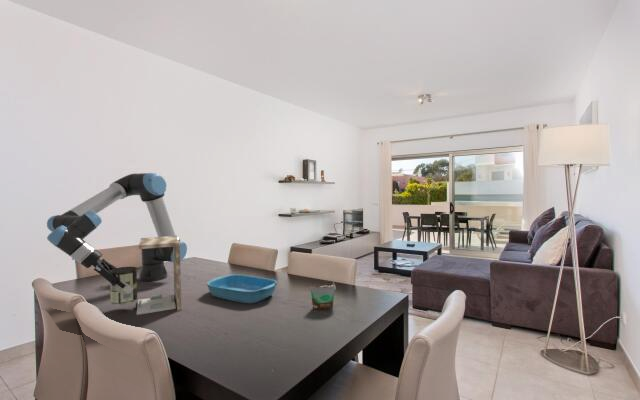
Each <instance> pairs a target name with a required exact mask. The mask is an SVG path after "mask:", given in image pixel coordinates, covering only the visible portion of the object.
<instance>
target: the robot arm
mask: <svg viewBox="0 0 640 400" xmlns="http://www.w3.org/2000/svg"><path fill="white" fill-rule="evenodd" d="M166 192H167V182H166V180H165V178H164V177H163V176H162V175H161V174H159V173H153V172H147V173H145V172H144V173H143V172H141V173H130V174H126V175H125V176H123V177H121V178H119V179H117V180H115V181H113V182H112V183H110V184H109V187H107V188H105V189H103V190H102V191H100V192H99V193H96V194H95V195H94V196H92V197H89V198H87V200H84V201H83V202H82V203H80V204H78V205H76V206H74V207H73V208H71V209H70V210H67V211H66V212H63V213H62V214H61V215H60V214H57V215H52V216H50V217H48V219H47V222H46V226H47V229H48V230H49V231H50V233H49V234H48V235H47V237H46V239H47V241H49V243H50V244H51V245H53V246H54V247H56V248H58V249H59V250H60V251H62V252H63V253H65V254H66V255H68V256H69V257H70V258H71V260H72V261H74V260H75V261H76V262H78V263H79V262H80V265H82V266H83V267H85V268H87V269H90V268H91V267H93V268H94V269H93V270H94V271H95V272H96V273H97V274H99V275H101V276H102V277H103V278H104V279H105V280H106V281H108V283H109V284H110V283H111V284H112V286H115V285H116V286H118V287H119V288H121V289H122V290H123V291H125V292H126V293H128V294H129V293H130V292H131V291H132V290H133V289H134V288H132V287H131V286H130V285H128V284H127V283H125V282H124V281H123V280H120V279H119V278H118V277H117V276H116V275H115V274H113V273H112V272H111V271H110V270H112V269H115V268H117V267H116V266H114V265H113V264H112V263H110V262H108V261H107V260H105V258H102V259H101V257H102V256H103V253H102V252H100V251H99V250H97V249H94V246H92V245H91V244H89V242H86V240H84V239H85V238H86V237H88V236H89V235H90V234H91V233H92V232H94V230H96V229H97V228H98V227H99V226H100V225H101V223H102V221H103V220H102V217H101V216H100V215H99V214H98V213H99V212H102V211H104V209H106V208H108V207H109V206H111V205H112V204H114V203H116V202H117V201H119V200H124V199H126V198H128V197H131V196H139V198H140V201H141V202H142V203H145V205H146V208H147V210H148V212H149V217H150V218H151V221H152V224H153V226H154V229H155V232H156V234H157V237H165V236H177V238H178V240H179V242H180V262H182V261H183V260H184V259H185V257H186V254H187V253H188V252H187V251H188V246H187V244H186V243H185V242H184V241H181V238H180V236H179V235H176V234H175V231H174V227H173V224H172V222H171V218H170V216H169V213H168V211H167V206H166V204H165V201H164V199H163V198H164V197H165V193H166ZM140 250H141V268H140V272H139V276H138V280H139V281H141V282H152V281H160V280H164V279H166V278H168V271H167V267H166V266H165V262H170V263H171V262H172V263H174V258H173V247H161V248H148V249H140Z"/></svg>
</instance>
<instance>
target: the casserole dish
mask: <svg viewBox="0 0 640 400" xmlns="http://www.w3.org/2000/svg"><path fill="white" fill-rule="evenodd" d="M277 282H278V281H277V280H275V279H272V278H265V277H260V276H254V275H246V274H239V273H238V274H229V275H228V274H227V275H223V276H219V277H218V276H217V277H215V278H211V279H210V280H209V281H207V282H206V286H207V288H208V291H209V292H210V294H211V295H212V296H213V297H215V298H219V299H223V300H228V301H233V302H236V303H237V302H238V303H243V304H255V303H259V302H260V301H263V300H265V299H267V298H269V297H271V296H272V295H273V294H274V292H275V290H276V288H277V287H276V286H277V284H278V283H277Z"/></svg>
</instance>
